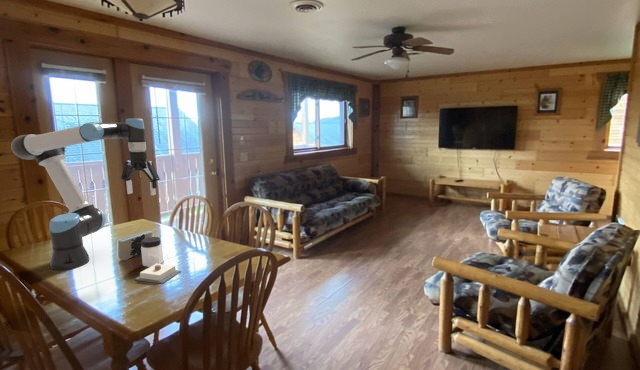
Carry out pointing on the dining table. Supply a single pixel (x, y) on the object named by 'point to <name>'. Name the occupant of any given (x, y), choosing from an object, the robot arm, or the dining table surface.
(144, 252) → the jar
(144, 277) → the lid
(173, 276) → the mat
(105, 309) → the dining table surface
